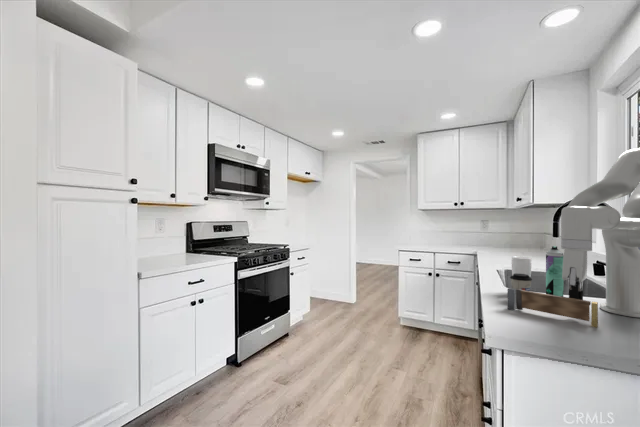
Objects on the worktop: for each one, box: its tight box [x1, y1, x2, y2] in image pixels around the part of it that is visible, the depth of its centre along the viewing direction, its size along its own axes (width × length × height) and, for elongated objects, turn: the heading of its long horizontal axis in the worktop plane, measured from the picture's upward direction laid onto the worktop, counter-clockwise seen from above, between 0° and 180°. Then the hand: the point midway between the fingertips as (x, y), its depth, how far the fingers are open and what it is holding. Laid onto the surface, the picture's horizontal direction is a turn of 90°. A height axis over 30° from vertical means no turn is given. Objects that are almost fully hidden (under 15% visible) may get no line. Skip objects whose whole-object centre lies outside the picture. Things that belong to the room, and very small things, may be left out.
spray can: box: [545, 245, 564, 297], centre depth 119 cm, size 6×6×20 cm
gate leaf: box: [515, 289, 592, 322], centre depth 95 cm, size 19×2×7 cm, turn 41°
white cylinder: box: [511, 255, 532, 278], centre depth 123 cm, size 7×7×15 cm
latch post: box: [590, 301, 599, 329], centre depth 88 cm, size 2×1×7 cm, turn 131°
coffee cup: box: [509, 273, 533, 291], centre depth 113 cm, size 7×7×10 cm
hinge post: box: [507, 287, 517, 311], centre depth 104 cm, size 2×2×7 cm
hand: (575, 302), depth 95 cm, fingers closed
